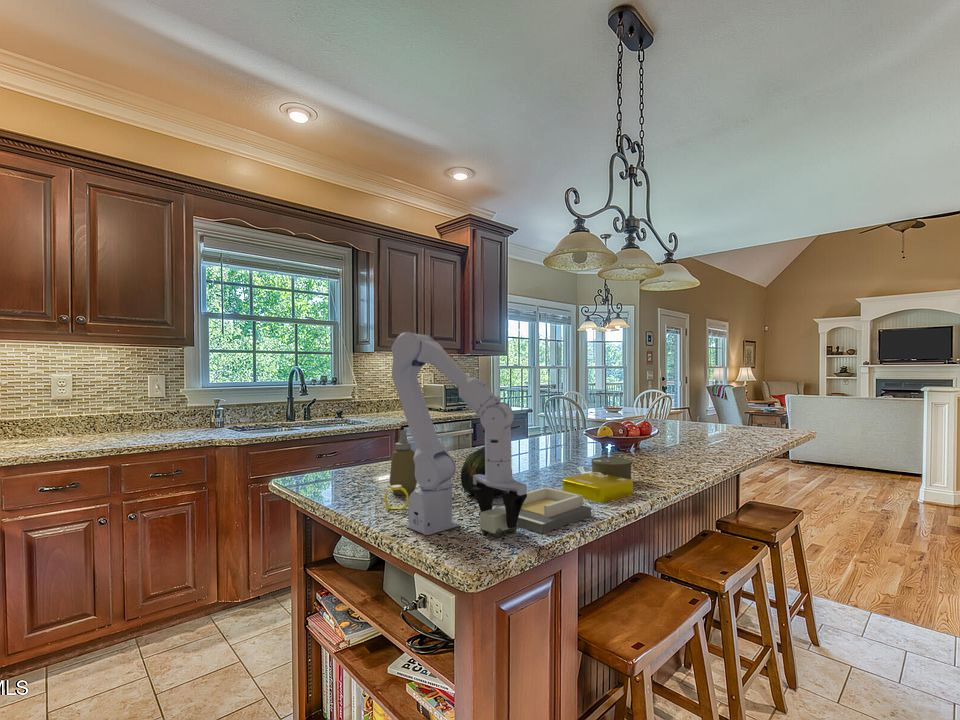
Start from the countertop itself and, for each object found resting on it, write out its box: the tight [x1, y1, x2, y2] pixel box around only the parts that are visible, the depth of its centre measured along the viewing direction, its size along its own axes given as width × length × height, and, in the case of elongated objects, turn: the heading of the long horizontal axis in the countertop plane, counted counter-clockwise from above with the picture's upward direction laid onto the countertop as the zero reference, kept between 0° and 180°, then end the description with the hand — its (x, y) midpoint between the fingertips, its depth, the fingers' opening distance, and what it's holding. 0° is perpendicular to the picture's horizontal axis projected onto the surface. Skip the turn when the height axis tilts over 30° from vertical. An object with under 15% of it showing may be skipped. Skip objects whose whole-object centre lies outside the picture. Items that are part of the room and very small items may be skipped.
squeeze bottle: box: [389, 429, 418, 496], centre depth 136 cm, size 8×8×18 cm
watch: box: [384, 485, 410, 510], centre depth 120 cm, size 6×3×6 cm, turn 93°
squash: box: [460, 445, 508, 496], centre depth 135 cm, size 14×15×15 cm
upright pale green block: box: [479, 505, 518, 539], centre depth 102 cm, size 7×4×5 cm, turn 133°
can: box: [591, 456, 632, 480], centre depth 146 cm, size 12×12×7 cm
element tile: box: [562, 471, 634, 504], centre depth 134 cm, size 15×15×5 cm
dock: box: [492, 486, 592, 534], centre depth 113 cm, size 18×16×4 cm
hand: (499, 522), depth 102 cm, fingers open, 7 cm apart
